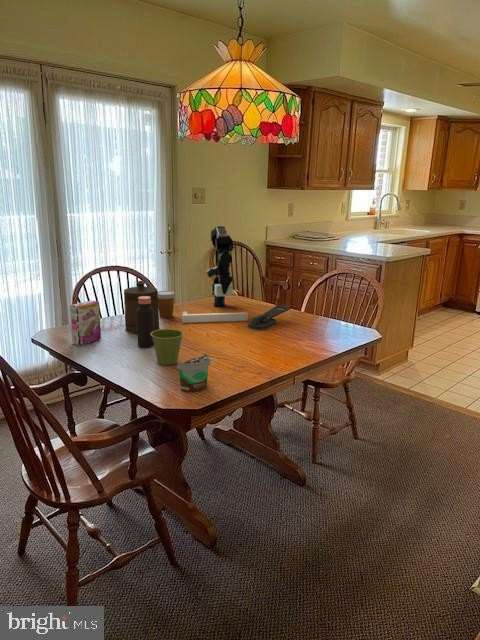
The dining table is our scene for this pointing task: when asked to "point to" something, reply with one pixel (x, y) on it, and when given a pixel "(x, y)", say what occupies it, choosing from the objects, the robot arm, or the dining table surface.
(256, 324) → the dark grey elongated piece
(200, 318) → the cleat board
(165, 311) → the disposable coffee cup
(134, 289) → the wooden container
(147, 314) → the bottle
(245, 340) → the dining table surface
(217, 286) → the cabinet block
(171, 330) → the plant pot
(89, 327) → the candy bar box
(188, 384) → the food container
